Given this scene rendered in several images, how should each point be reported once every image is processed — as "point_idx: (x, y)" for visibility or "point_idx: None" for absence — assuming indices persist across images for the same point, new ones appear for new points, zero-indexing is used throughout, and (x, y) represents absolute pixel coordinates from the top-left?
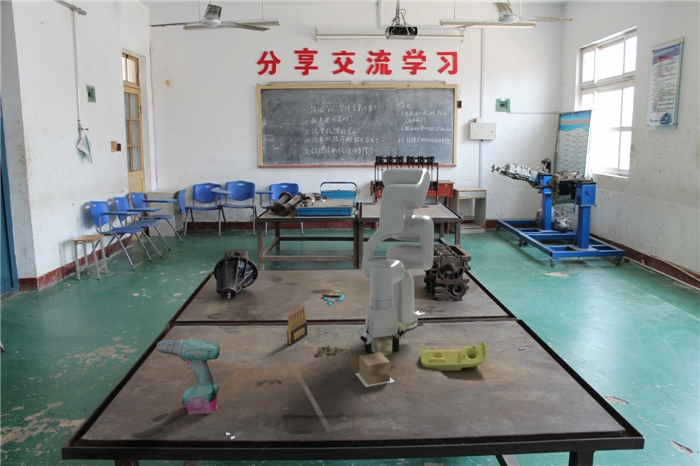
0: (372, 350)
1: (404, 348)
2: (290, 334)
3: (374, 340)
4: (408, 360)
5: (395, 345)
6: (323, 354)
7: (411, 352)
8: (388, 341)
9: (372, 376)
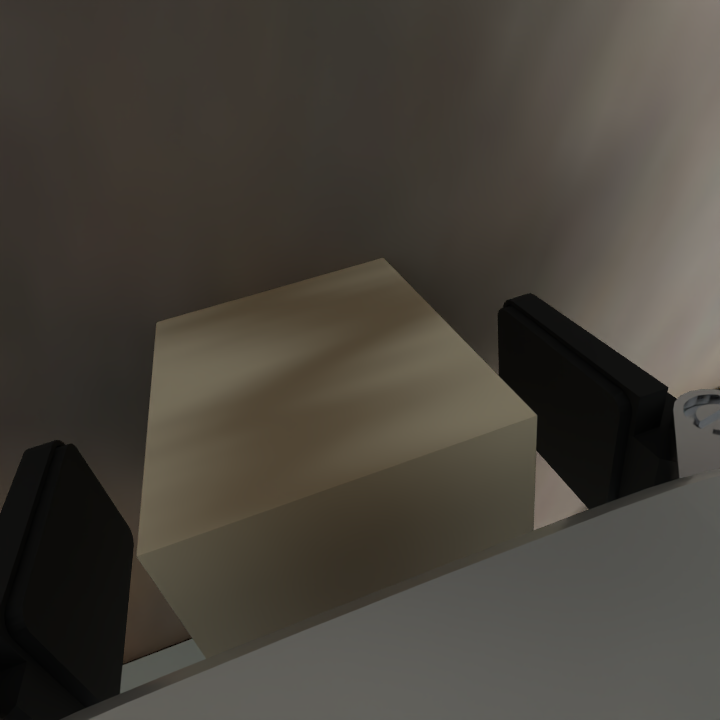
0: (157, 359)
1: (652, 171)
2: None
3: (200, 626)
4: (537, 475)
5: (543, 439)
6: None
7: (656, 303)
8: None
9: None
